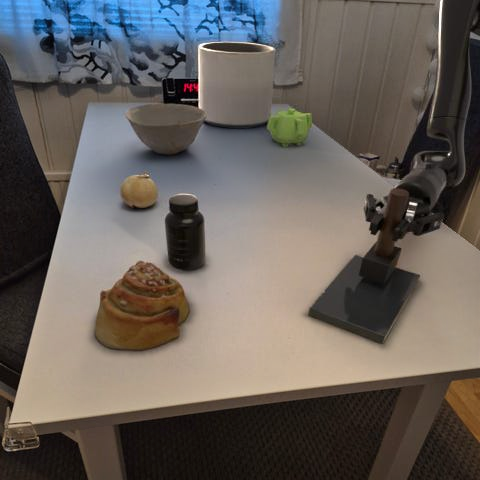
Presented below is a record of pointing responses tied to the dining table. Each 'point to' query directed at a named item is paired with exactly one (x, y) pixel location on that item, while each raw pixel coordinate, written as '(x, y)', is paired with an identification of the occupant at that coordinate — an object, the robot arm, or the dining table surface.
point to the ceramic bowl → (166, 126)
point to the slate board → (364, 301)
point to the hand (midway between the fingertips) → (384, 232)
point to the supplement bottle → (185, 233)
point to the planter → (236, 83)
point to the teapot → (289, 126)
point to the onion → (139, 191)
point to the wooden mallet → (385, 240)
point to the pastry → (141, 309)
